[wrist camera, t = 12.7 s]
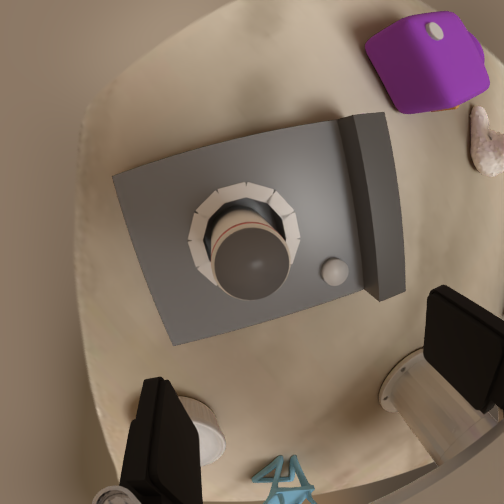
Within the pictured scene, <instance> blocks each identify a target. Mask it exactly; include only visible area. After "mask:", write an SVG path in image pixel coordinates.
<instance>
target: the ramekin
mask: <svg viewBox="0 0 504 504" xmlns="http://www.w3.org/2000/svg"><path fill="white" fill-rule="evenodd" d="M178 398H179V399H180V401H181V403H182V405H183V406H184V408H185V410H186V412H187V413H188V415H189V417H190V418H191V420H192V422H193V424H194V425H195V427H196V429H197V431H198V434H199V441H200V466H201V467H202V466H205V465H208V464H211V463H213V462H215V461H216V460H217V459H219V458H220V457H221V456H222V455H223V453H224V451H225V448H226V441H225V437H224V434H223V433H222V431H221V430H220V427H219V424H218V422H217V419H216V416H215V415H214V413H213V412H212V411H211V409H210V408H208V407H207V406H206V405H204V404H203V403H201V402H199V401H197V400H195V399H192V398H188V397H183V396H178Z"/></svg>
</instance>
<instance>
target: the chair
mask: <svg viewBox="0 0 504 504" xmlns="http://www.w3.org/2000/svg"><path fill="white" fill-rule="evenodd" d="M283 461H284V460H283V456H281V455H280V456H278V457H277V458H276V459H275V460H274V461H273V462H271V463H270V464H269V465H268V466H266V467H265V468H264V469H263V470H261V471H260V472H259V473H257V474H256V475H255V476H253V477H252V482H253V483H268V482H273V483H272V487H271V490H270V493H269V496H268V498H267V499H266V501H265V502H264V503H263V504H301V503H302V502H303V501H304V500H305V498H307V500H308V501H309V502H311V503H312V504H317V503H316V502H315V501H314V500H313V498H312V496H311V493H312V492H313V491H314V489H315V488H314V485H310V484H309V483H308V481H307V479H306V477H305V475H304V473H303V471H302V469H301V466H300V464H299V462H298V459H297V456H296V455H293V456H292V457H291V459H290V476H289V477H280V473H281V469H282V465H283ZM275 468H276V471H275V475H274V478H262V477H263V476H265V475H266V474H268V473H269V472H271V471H272V470H274V469H275ZM295 472H296V474H297V476H298V479H299V481H300V484H301V487H294V488H285V487H282V488H278V482H291V481H293V480H294V477H295Z"/></svg>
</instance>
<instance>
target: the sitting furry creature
mask: <svg viewBox="0 0 504 504" xmlns="http://www.w3.org/2000/svg"><path fill="white" fill-rule="evenodd" d="M470 117H471V131H470V132H471V149H470V153H471V156H472V160H473V162H474V166H476V168H477V170H478V171H479V173H481V174H483V175H486V176H489V177H491V176H493V177H494V176H496V175H497V174H498V173H502V172H504V134H501V133H500V132H497V133H496V132H495V131H494V130H491V129H488V128H489V120H488V115H487V114H486V111H485V109H484V108H482V107H481V106H474V107H473V108H472V111H471V115H470Z"/></svg>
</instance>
